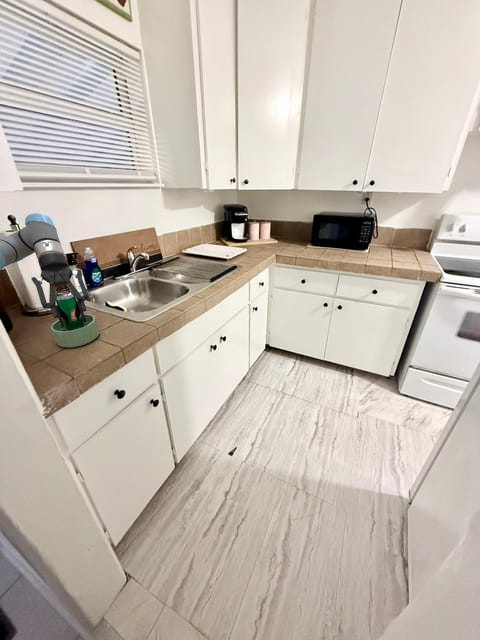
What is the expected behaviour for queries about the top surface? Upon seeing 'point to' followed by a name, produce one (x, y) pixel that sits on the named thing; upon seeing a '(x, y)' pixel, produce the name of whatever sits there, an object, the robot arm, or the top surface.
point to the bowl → (75, 333)
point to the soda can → (69, 310)
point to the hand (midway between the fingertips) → (73, 323)
